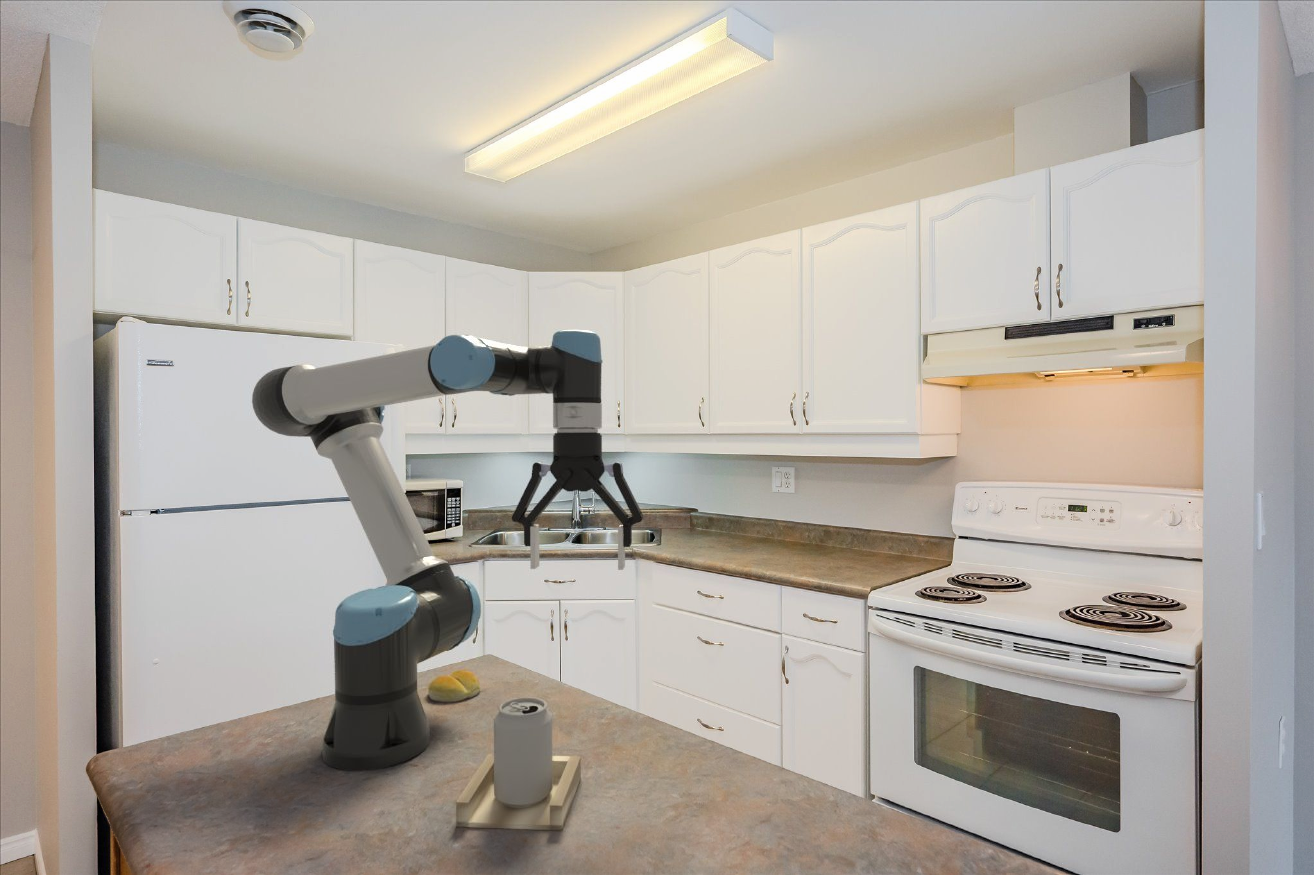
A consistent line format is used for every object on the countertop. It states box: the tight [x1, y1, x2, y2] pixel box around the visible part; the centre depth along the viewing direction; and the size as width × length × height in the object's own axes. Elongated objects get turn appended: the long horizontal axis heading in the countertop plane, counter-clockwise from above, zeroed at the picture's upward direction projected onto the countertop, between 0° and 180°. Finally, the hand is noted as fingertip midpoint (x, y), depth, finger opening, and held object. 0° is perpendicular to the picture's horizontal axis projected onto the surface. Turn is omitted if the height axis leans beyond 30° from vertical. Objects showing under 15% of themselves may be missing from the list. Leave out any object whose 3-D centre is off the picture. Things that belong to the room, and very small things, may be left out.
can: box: [493, 696, 553, 808], centre depth 93 cm, size 8×8×12 cm
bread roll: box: [427, 669, 481, 703], centre depth 131 cm, size 8×9×4 cm
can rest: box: [455, 753, 582, 831], centre depth 93 cm, size 13×13×3 cm
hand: (578, 567), depth 111 cm, fingers open, 13 cm apart
